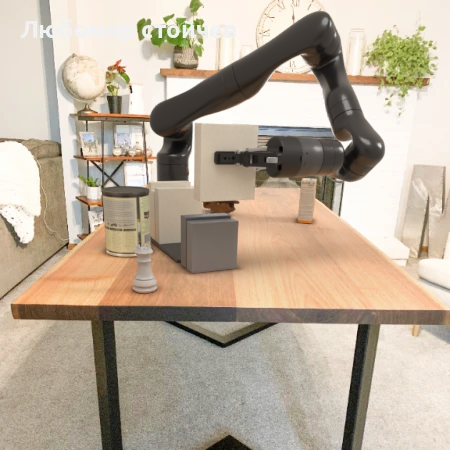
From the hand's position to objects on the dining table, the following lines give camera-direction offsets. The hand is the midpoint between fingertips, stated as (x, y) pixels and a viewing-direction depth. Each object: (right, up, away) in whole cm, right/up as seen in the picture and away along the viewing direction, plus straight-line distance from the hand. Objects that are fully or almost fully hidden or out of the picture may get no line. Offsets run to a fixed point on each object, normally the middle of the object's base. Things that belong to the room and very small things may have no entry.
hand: (211, 157), depth 78 cm
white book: (+2, -7, +4) cm, 8 cm away
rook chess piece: (-12, -24, +1) cm, 26 cm away
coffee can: (-20, -14, +24) cm, 34 cm away
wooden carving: (0, +4, +72) cm, 72 cm away
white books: (-8, -12, +30) cm, 33 cm away
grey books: (-1, -18, +15) cm, 24 cm away
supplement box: (+28, 0, +65) cm, 71 cm away
